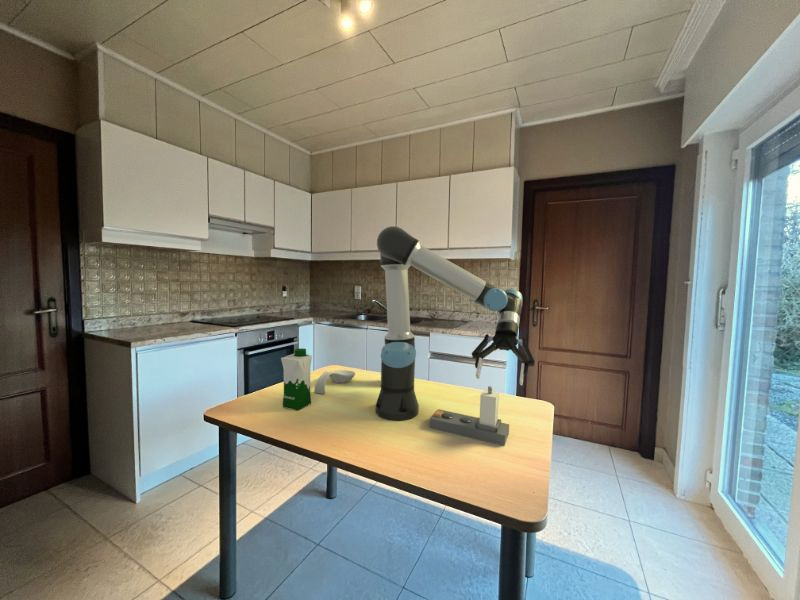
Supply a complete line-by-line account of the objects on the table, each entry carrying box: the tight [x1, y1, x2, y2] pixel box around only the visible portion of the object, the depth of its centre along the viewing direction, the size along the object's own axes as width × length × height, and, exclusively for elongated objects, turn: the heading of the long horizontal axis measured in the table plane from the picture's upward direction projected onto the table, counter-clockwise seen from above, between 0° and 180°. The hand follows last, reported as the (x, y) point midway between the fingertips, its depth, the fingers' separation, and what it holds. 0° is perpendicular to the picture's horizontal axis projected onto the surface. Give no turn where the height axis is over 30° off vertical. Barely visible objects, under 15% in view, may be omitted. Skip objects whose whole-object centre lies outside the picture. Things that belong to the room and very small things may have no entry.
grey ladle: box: [313, 369, 356, 395], centre depth 143 cm, size 24×12×7 cm, turn 161°
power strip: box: [429, 409, 510, 446], centre depth 104 cm, size 23×8×4 cm, turn 64°
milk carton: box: [280, 348, 313, 411], centre depth 120 cm, size 9×9×20 cm
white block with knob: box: [479, 386, 500, 427], centre depth 101 cm, size 4×5×12 cm
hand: (498, 380), depth 107 cm, fingers open, 13 cm apart
